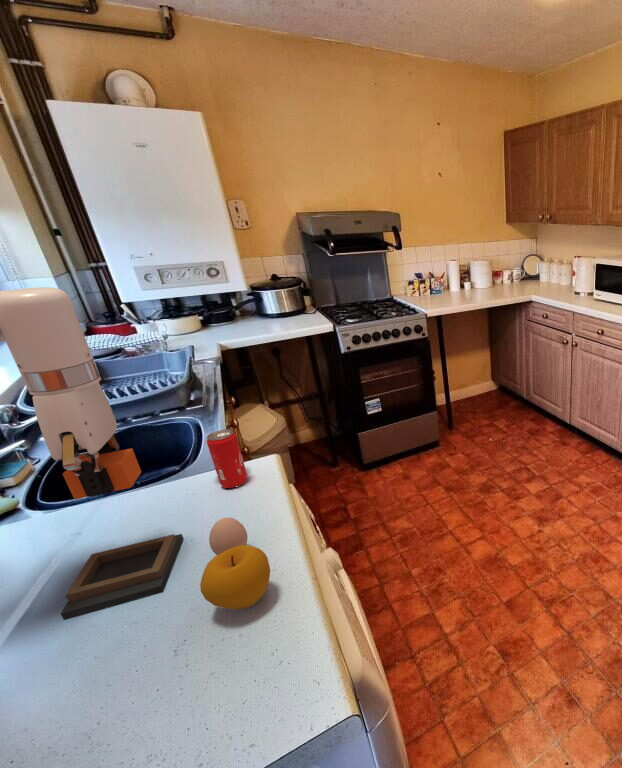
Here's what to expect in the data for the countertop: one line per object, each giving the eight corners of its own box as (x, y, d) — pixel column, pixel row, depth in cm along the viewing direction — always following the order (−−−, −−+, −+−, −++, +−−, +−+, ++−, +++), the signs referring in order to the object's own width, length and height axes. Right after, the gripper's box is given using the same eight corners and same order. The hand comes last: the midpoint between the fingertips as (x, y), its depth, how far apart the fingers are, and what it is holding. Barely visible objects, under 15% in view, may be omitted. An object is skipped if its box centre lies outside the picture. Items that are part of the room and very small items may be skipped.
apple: (202, 633, 61) (183, 585, 58) (222, 586, 68) (206, 541, 65) (270, 617, 63) (255, 570, 60) (281, 574, 71) (269, 530, 67)
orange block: (74, 499, 66) (62, 474, 64) (88, 482, 70) (77, 458, 68) (131, 487, 68) (121, 462, 67) (141, 471, 73) (132, 448, 71)
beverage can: (224, 478, 97) (209, 430, 92) (250, 474, 98) (237, 426, 94) (217, 492, 92) (201, 442, 88) (245, 487, 94) (230, 437, 89)
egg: (253, 557, 74) (242, 522, 71) (216, 571, 71) (203, 535, 69) (249, 539, 78) (239, 505, 76) (215, 552, 75) (203, 517, 73)
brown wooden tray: (63, 619, 63) (55, 605, 62) (100, 559, 74) (94, 547, 73) (163, 591, 68) (157, 578, 67) (183, 538, 79) (179, 526, 78)
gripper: (57, 363, 68) (100, 463, 75) (-10, 402, 54) (51, 522, 60) (117, 356, 71) (153, 453, 78) (69, 392, 56) (118, 508, 63)
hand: (108, 482), depth 69 cm, fingers closed on orange block, 5 cm apart
